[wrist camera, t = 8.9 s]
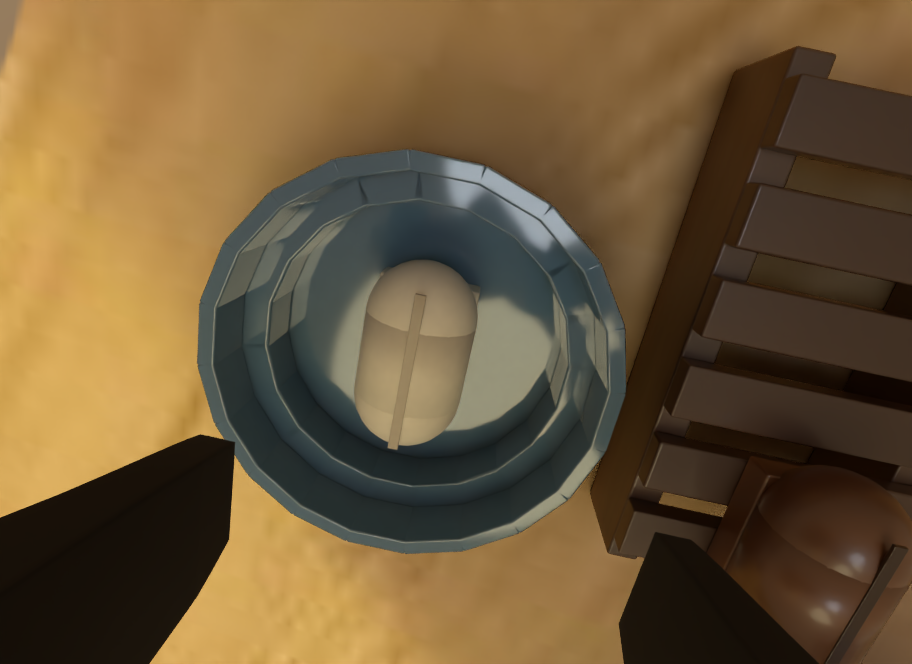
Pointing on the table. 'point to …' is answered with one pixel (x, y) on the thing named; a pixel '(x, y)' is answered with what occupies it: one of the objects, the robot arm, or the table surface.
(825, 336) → the rack
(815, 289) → the table surface
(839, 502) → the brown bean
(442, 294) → the cream capsule
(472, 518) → the bowl
